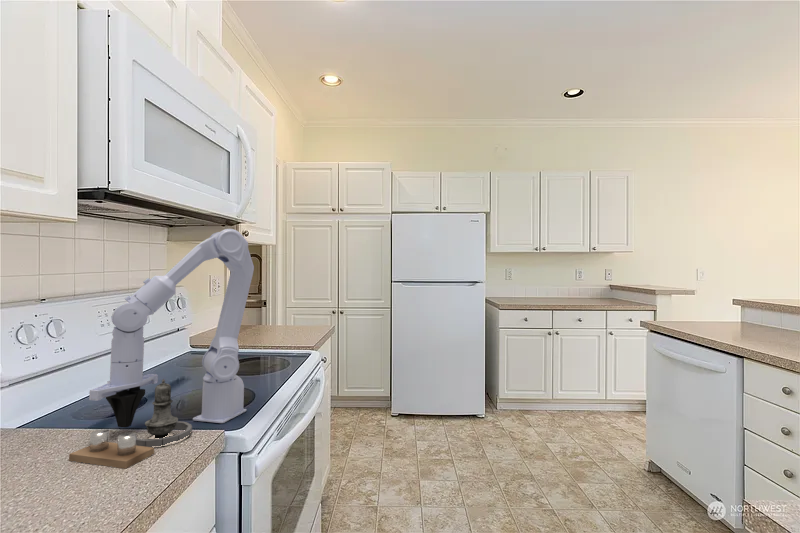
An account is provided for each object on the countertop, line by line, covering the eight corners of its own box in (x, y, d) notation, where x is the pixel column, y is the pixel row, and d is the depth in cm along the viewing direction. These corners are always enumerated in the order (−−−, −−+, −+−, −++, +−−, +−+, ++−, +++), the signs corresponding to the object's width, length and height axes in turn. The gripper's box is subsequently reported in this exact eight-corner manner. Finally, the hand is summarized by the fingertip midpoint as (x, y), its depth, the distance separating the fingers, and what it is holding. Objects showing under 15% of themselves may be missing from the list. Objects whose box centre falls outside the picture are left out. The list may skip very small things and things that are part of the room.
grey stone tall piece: (158, 446, 79) (161, 383, 79) (136, 442, 81) (139, 380, 81) (184, 436, 84) (186, 377, 85) (163, 431, 86) (165, 374, 87)
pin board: (100, 447, 78) (101, 425, 78) (154, 454, 75) (155, 431, 75) (68, 460, 72) (70, 436, 72) (125, 468, 69) (126, 443, 69)
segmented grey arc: (175, 427, 89) (175, 420, 89) (202, 430, 87) (202, 423, 87) (132, 447, 78) (132, 439, 78) (162, 451, 76) (163, 443, 76)
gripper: (140, 353, 93) (137, 413, 93) (77, 366, 79) (74, 437, 79) (166, 355, 92) (164, 416, 91) (107, 368, 78) (104, 440, 77)
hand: (124, 426), depth 85 cm, fingers closed
